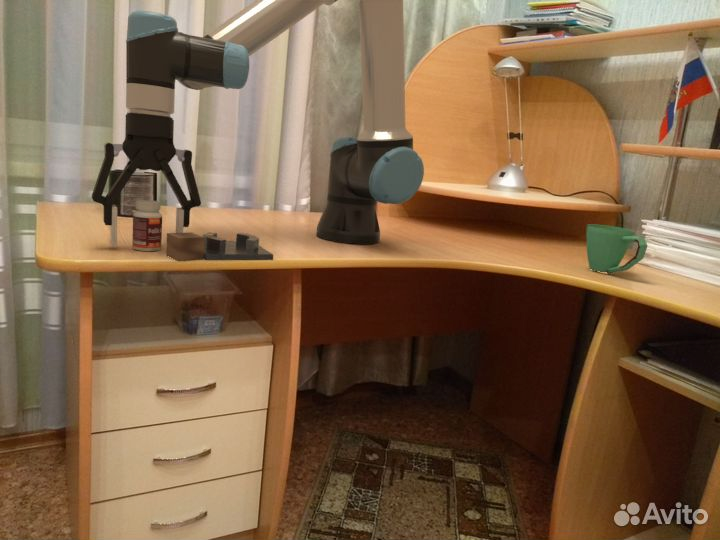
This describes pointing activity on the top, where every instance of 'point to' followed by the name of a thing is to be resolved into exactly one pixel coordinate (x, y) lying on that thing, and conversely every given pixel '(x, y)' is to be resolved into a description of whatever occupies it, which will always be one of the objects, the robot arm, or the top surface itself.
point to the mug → (611, 247)
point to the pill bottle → (147, 226)
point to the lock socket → (234, 248)
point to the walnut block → (185, 246)
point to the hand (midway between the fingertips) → (147, 244)
